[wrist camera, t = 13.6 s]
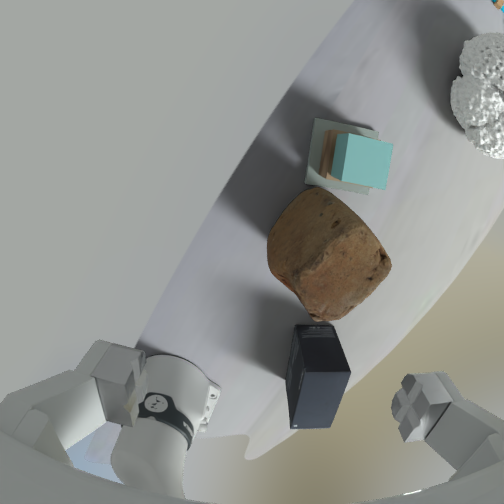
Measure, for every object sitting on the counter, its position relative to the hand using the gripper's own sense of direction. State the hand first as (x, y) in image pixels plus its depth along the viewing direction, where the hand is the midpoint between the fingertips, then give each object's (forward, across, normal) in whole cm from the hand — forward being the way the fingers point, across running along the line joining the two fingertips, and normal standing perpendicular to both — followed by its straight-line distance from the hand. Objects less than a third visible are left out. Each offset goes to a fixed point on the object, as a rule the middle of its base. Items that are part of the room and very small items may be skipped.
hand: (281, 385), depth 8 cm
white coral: (+34, +33, +24) cm, 53 cm away
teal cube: (+28, +10, +7) cm, 31 cm away
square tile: (+35, +10, +8) cm, 37 cm away
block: (+35, +6, -2) cm, 36 cm away
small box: (+36, +12, -25) cm, 46 cm away
